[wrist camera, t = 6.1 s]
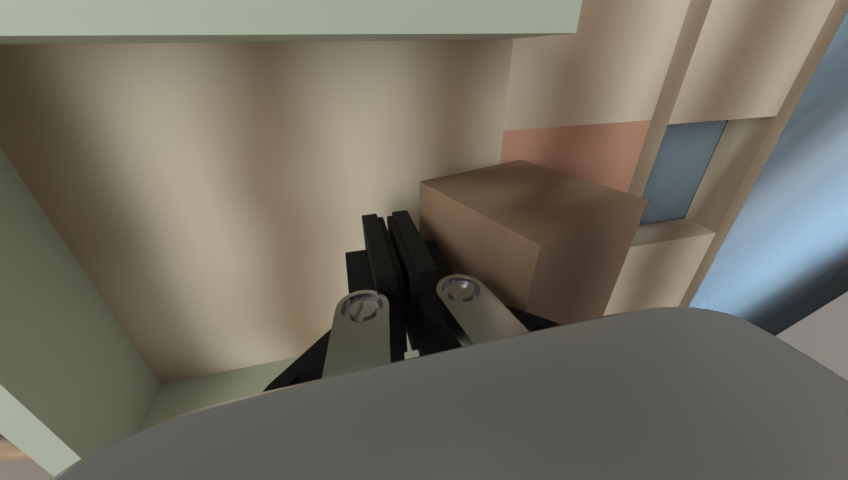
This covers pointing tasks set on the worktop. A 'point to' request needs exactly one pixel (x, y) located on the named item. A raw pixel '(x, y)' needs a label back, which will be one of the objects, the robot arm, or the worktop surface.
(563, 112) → the board
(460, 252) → the walnut block
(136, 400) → the low bay
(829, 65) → the worktop surface
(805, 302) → the worktop surface
